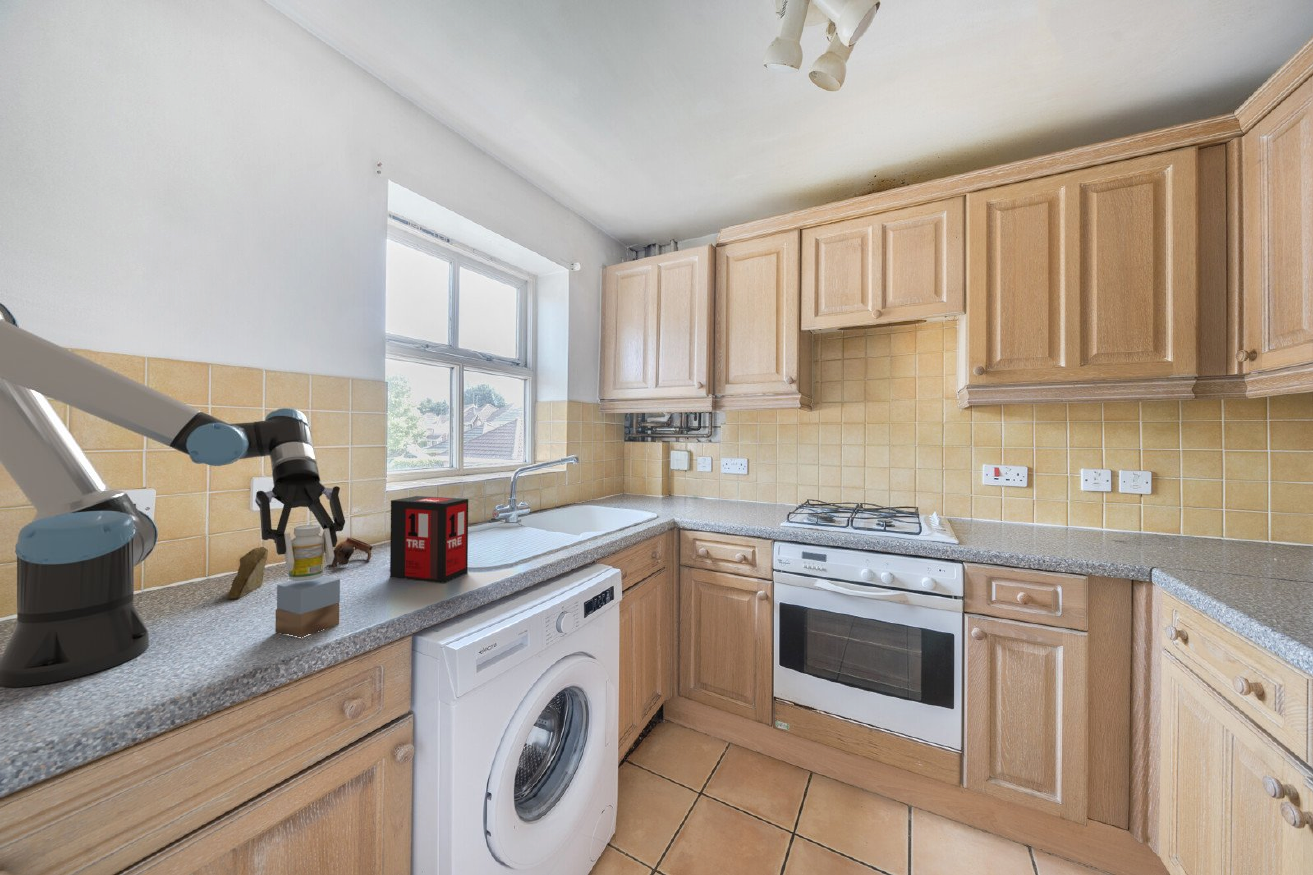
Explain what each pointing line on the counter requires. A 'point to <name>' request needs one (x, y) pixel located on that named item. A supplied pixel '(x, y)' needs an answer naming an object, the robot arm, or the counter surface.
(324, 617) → the walnut block
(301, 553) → the supplement bottle
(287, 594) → the slate-blue block
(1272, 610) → the counter surface
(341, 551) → the pottery mug
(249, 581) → the rock
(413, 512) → the cleaning product box
